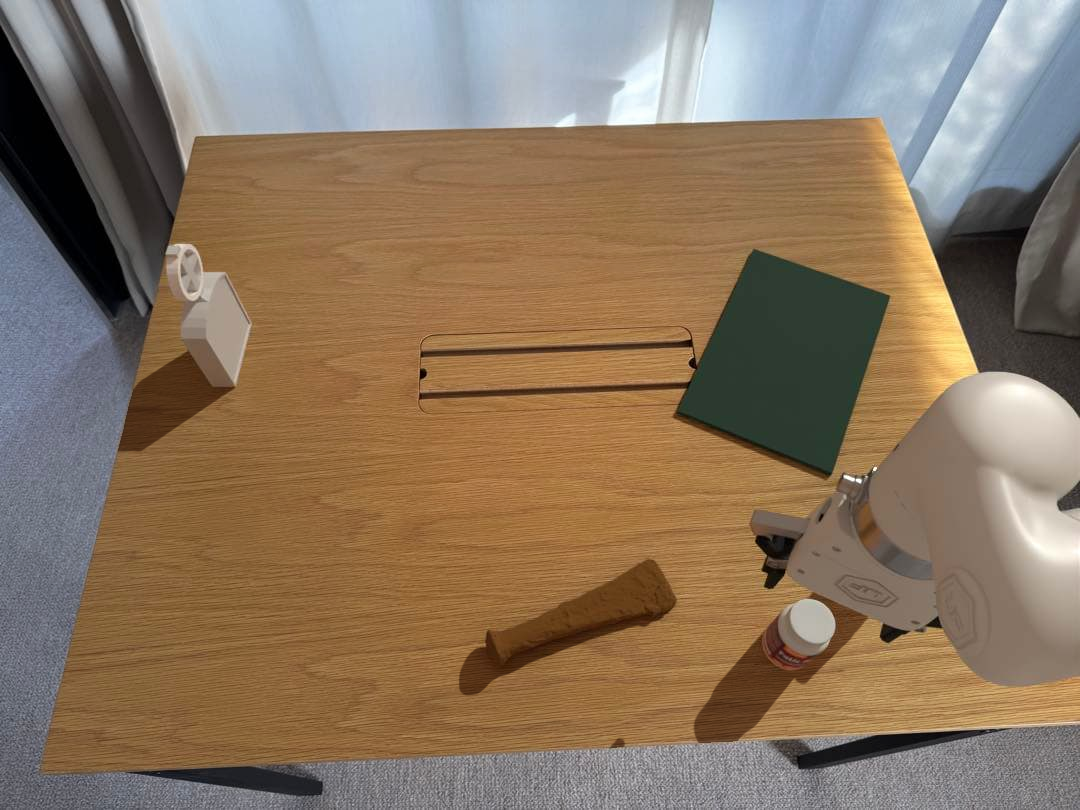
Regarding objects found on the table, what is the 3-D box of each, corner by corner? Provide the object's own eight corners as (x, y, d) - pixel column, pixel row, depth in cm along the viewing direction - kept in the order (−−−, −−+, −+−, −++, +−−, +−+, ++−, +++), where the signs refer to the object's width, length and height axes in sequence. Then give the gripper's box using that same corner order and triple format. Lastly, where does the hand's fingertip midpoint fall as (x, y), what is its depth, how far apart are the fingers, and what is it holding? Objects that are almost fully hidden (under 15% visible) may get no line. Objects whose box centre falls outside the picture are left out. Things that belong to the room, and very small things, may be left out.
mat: (888, 298, 97) (890, 295, 97) (830, 475, 84) (832, 473, 84) (752, 251, 102) (753, 248, 101) (676, 413, 88) (677, 410, 88)
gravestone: (252, 323, 95) (197, 216, 80) (235, 386, 90) (173, 285, 75) (229, 323, 95) (170, 216, 80) (212, 386, 90) (145, 285, 75)
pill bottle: (766, 672, 73) (791, 649, 66) (757, 622, 76) (780, 595, 68) (816, 670, 73) (846, 647, 66) (805, 620, 76) (833, 593, 69)
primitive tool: (652, 558, 79) (657, 546, 76) (680, 606, 76) (685, 595, 73) (480, 638, 75) (478, 629, 72) (503, 692, 72) (501, 684, 69)
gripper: (767, 510, 49) (714, 592, 63) (1052, 633, 45) (925, 690, 60) (801, 418, 52) (743, 516, 67) (1068, 525, 48) (944, 604, 63)
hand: (828, 598), depth 63 cm, fingers open, 9 cm apart
